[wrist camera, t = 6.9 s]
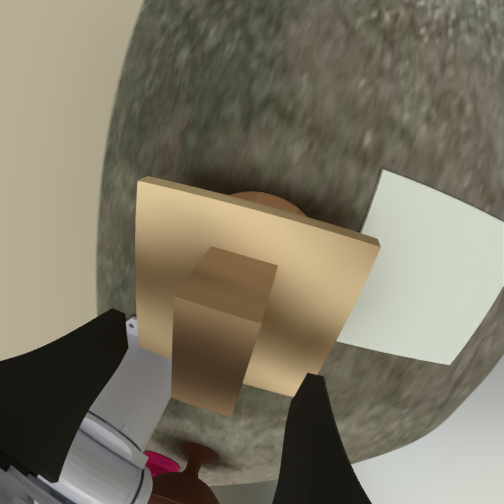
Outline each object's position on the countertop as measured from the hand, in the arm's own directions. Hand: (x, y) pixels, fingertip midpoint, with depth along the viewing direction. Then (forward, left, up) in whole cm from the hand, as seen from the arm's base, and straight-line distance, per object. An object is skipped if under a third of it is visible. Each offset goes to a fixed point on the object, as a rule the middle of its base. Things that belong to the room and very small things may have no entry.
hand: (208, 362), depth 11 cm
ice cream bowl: (-25, -18, -9) cm, 33 cm away
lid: (0, 0, -4) cm, 4 cm away
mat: (+8, -8, -9) cm, 14 cm away
